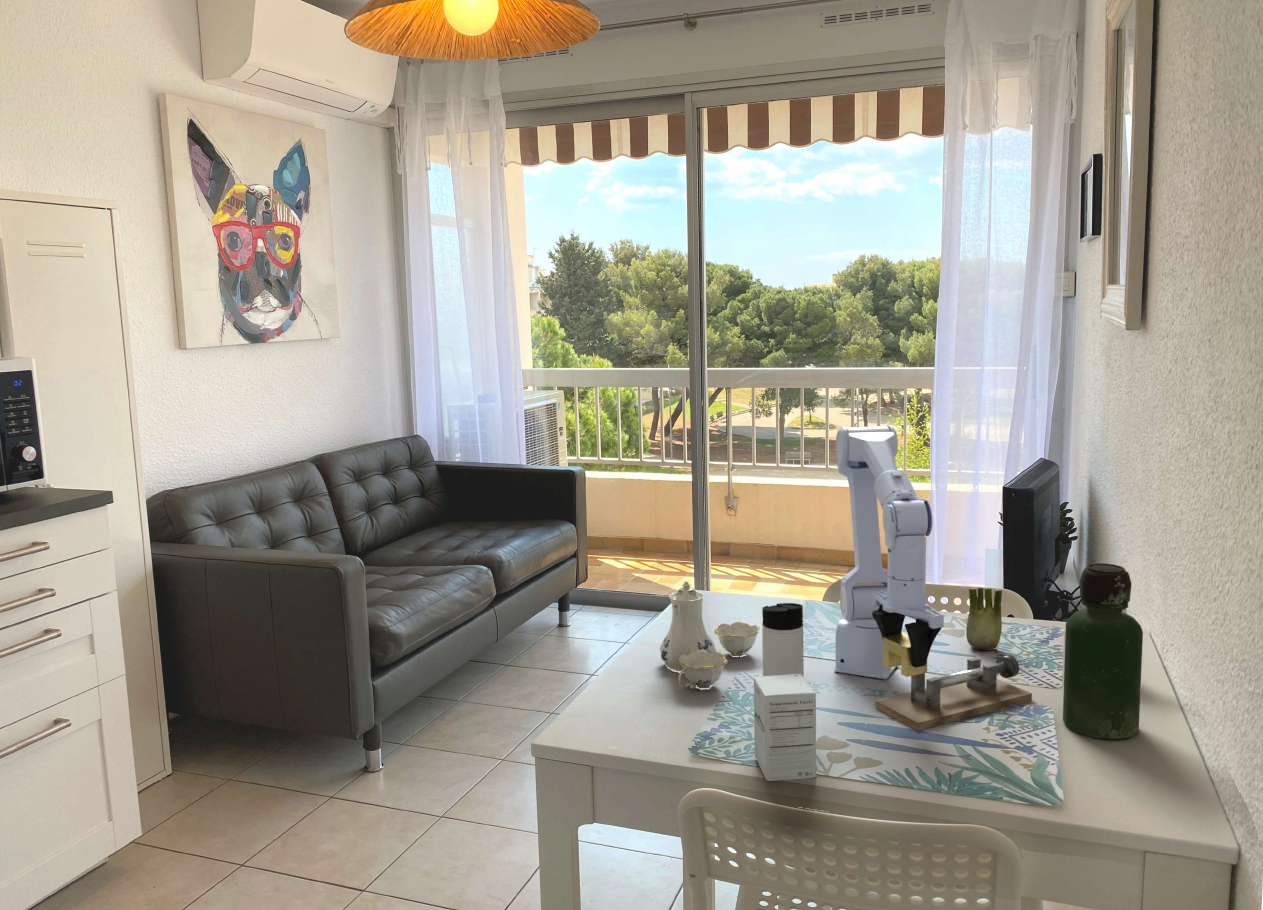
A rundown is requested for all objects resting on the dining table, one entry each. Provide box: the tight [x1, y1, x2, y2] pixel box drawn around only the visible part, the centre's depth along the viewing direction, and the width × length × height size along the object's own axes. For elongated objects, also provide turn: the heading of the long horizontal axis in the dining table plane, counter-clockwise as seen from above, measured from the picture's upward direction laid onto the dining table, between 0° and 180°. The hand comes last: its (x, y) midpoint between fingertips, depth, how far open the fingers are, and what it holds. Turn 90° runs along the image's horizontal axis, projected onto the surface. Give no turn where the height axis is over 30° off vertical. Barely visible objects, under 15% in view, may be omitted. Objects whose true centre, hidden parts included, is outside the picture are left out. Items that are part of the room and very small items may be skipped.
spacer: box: [883, 632, 928, 678], centre depth 150 cm, size 4×6×5 cm
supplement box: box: [753, 674, 817, 782], centre depth 134 cm, size 7×7×13 cm
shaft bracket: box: [874, 657, 1033, 731], centre depth 155 cm, size 24×10×6 cm, turn 115°
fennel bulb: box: [965, 586, 1003, 651], centre depth 180 cm, size 6×5×12 cm
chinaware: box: [659, 580, 760, 690], centre depth 175 cm, size 28×17×17 cm, turn 159°
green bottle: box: [1062, 563, 1144, 740], centre depth 144 cm, size 10×10×25 cm
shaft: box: [937, 654, 1020, 688], centre depth 157 cm, size 16×4×4 cm, turn 115°
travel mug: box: [761, 602, 805, 678], centre depth 148 cm, size 6×7×20 cm
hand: (905, 659), depth 150 cm, fingers closed on spacer, 6 cm apart
